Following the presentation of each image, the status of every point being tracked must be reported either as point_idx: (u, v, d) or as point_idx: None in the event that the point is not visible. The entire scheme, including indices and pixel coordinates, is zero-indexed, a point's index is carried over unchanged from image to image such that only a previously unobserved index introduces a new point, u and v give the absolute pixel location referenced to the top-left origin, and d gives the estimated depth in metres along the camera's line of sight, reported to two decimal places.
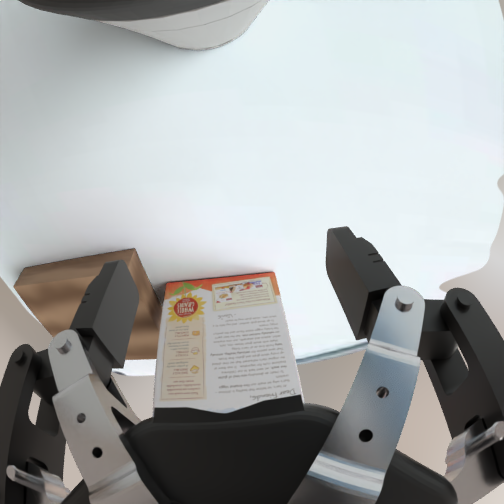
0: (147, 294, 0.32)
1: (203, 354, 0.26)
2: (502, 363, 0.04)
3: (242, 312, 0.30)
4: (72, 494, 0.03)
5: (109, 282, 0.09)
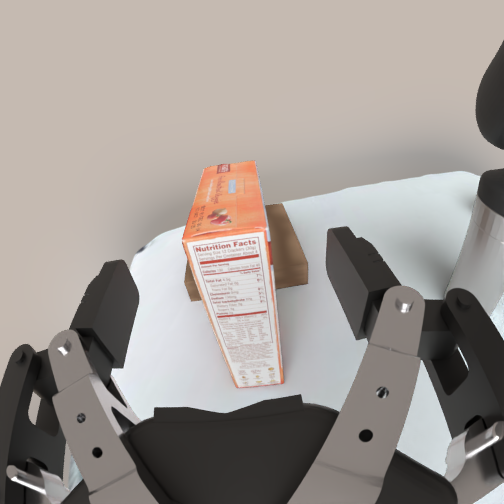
0: None
1: None
2: (502, 363, 0.04)
3: None
4: (72, 494, 0.03)
5: (109, 282, 0.09)
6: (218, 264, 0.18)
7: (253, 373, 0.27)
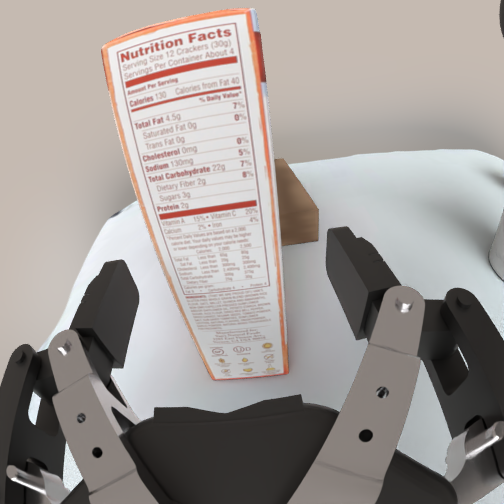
0: None
1: None
2: (502, 363, 0.04)
3: None
4: (72, 494, 0.03)
5: (109, 282, 0.09)
6: (157, 82, 0.08)
7: (237, 353, 0.16)
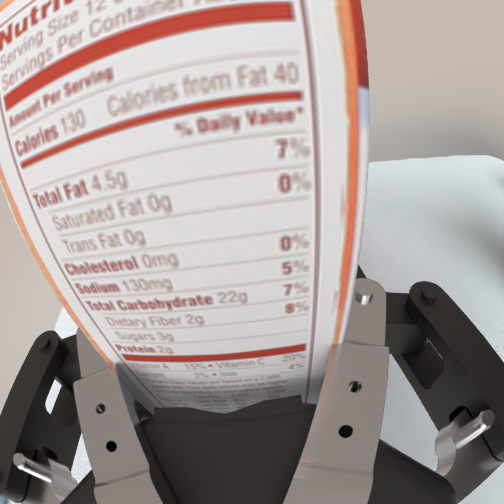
0: None
1: None
2: (479, 352, 0.04)
3: None
4: (72, 495, 0.03)
5: None
6: (64, 85, 0.02)
7: None
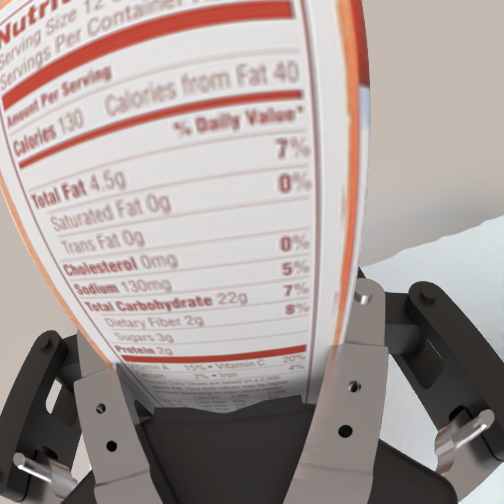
0: None
1: None
2: (478, 352, 0.05)
3: None
4: (72, 494, 0.03)
5: None
6: (62, 84, 0.02)
7: None
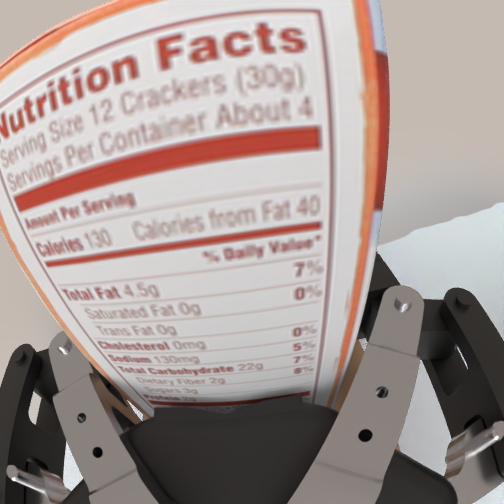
0: None
1: None
2: (501, 363, 0.04)
3: None
4: (72, 494, 0.03)
5: None
6: (81, 202, 0.03)
7: None
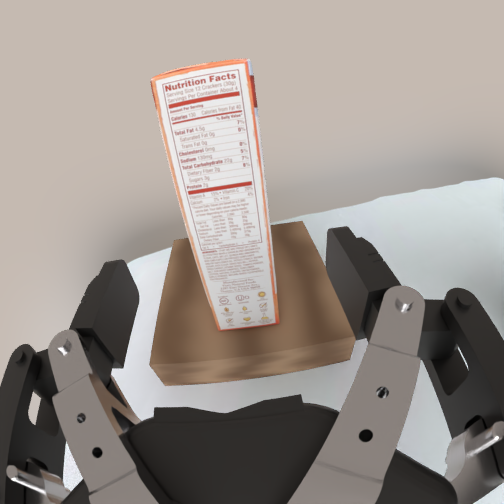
0: (292, 361, 0.23)
1: None
2: (502, 363, 0.04)
3: None
4: (72, 494, 0.03)
5: (109, 282, 0.09)
6: (190, 106, 0.13)
7: (239, 301, 0.22)
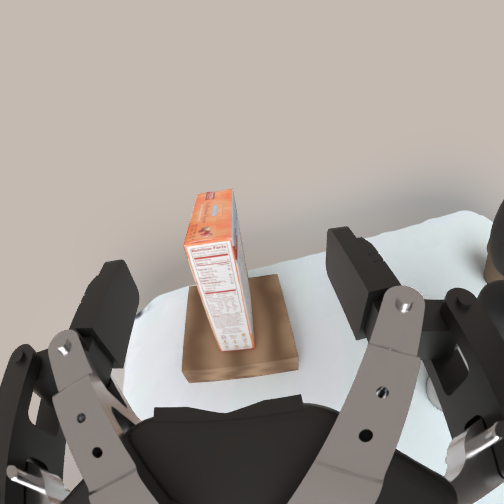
0: (261, 369, 0.41)
1: None
2: (502, 363, 0.04)
3: (249, 302, 0.42)
4: (72, 495, 0.03)
5: (109, 282, 0.09)
6: (204, 259, 0.31)
7: (231, 337, 0.39)
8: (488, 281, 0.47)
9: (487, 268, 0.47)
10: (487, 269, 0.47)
